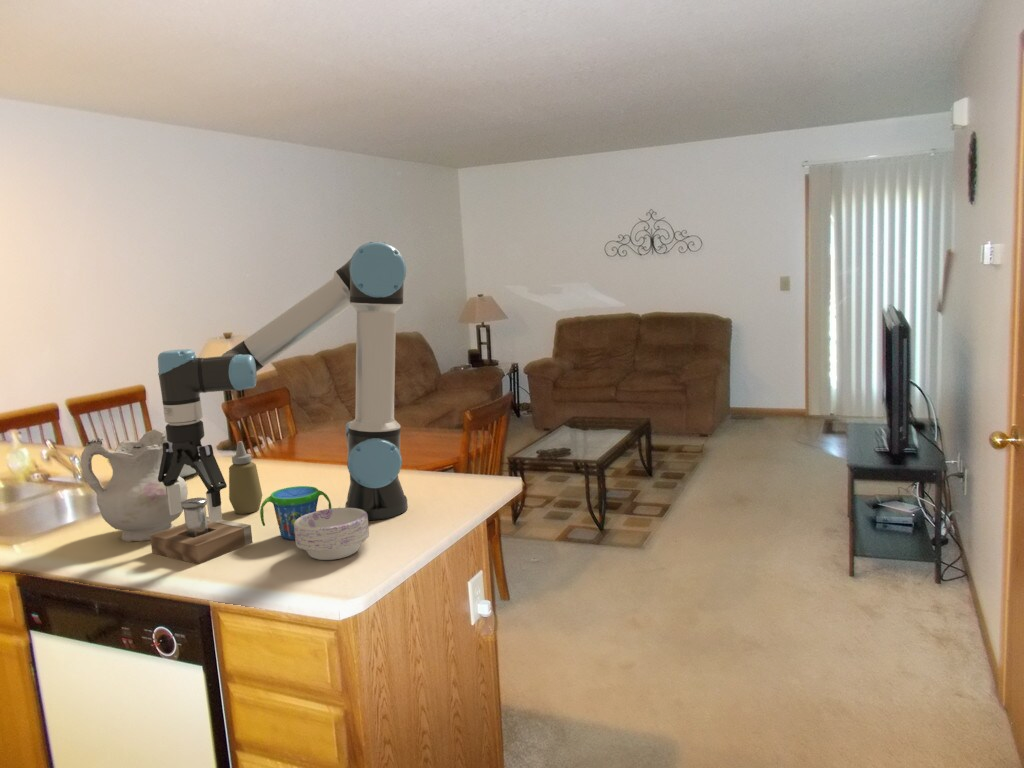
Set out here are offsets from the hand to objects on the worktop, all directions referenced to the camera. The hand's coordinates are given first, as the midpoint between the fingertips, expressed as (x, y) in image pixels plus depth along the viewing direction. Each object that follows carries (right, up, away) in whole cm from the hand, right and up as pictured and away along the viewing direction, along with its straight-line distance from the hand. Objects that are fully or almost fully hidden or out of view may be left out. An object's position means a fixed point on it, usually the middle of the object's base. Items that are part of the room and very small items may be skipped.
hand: (195, 517), depth 173 cm
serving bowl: (-34, +1, +69) cm, 77 cm away
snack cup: (+21, -5, +7) cm, 22 cm away
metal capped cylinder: (0, -7, +1) cm, 7 cm away
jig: (0, -7, +1) cm, 7 cm away
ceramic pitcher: (-18, -7, +14) cm, 23 cm away
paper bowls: (+32, -7, -6) cm, 33 cm away
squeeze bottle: (+2, -3, +28) cm, 28 cm away
